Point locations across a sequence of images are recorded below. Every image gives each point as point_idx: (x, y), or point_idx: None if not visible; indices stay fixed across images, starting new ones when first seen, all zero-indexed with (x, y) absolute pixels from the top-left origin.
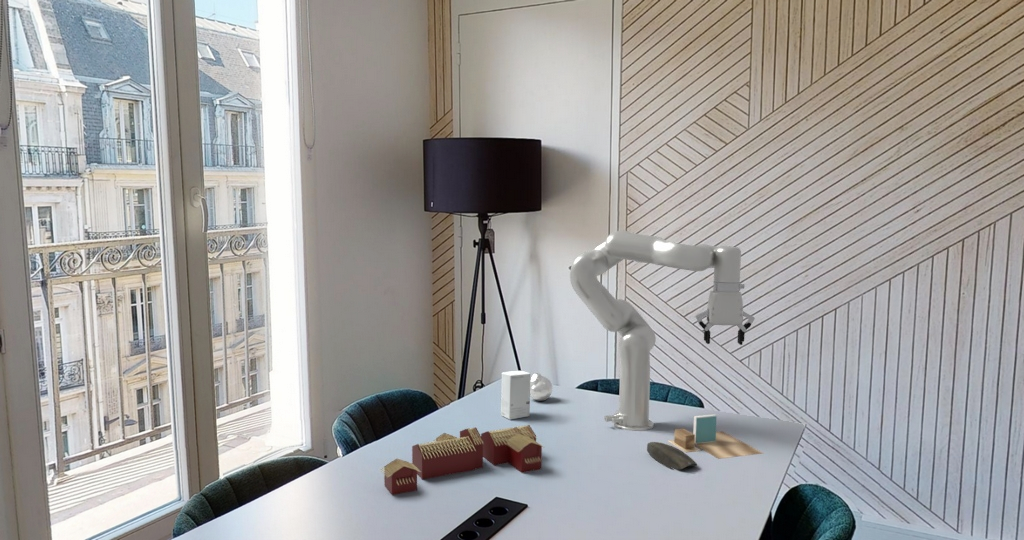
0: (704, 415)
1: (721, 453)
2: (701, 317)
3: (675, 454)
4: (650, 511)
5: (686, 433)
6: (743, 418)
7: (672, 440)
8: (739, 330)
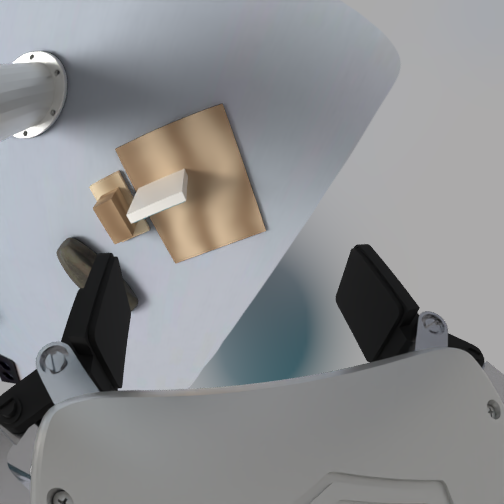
0: (153, 205)
1: (185, 240)
2: (27, 482)
3: None
4: None
5: (116, 229)
6: (312, 5)
7: (97, 184)
8: (397, 331)
